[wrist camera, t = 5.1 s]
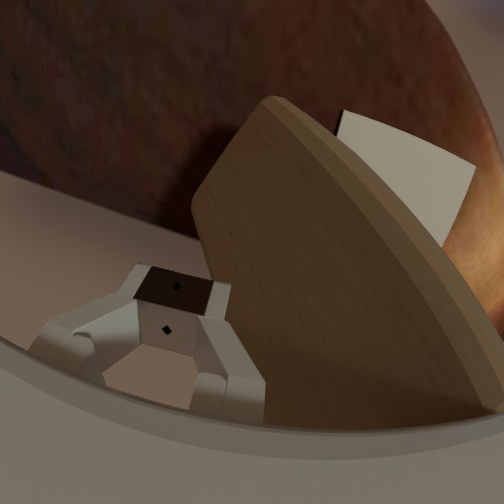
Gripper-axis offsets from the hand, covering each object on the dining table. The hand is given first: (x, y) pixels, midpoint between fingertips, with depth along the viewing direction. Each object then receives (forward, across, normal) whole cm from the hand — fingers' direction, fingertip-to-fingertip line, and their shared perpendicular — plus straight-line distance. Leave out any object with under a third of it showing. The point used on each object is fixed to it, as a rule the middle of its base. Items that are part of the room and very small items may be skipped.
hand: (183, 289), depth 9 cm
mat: (+18, -15, 0) cm, 23 cm away
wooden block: (+15, -3, 0) cm, 15 cm away
